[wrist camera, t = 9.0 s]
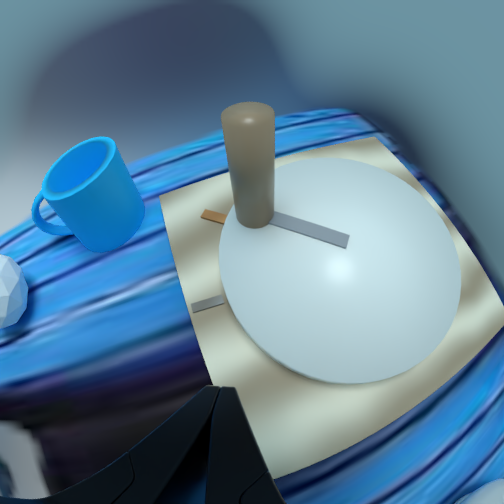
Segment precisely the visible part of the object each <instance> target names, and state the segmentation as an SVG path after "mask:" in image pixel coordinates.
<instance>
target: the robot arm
mask: <svg viewBox="0 0 504 504" xmlns="http://www.w3.org/2000/svg"><path fill="white" fill-rule="evenodd" d="M128 452H129V453H128ZM128 452H126V453H125V454H123V455H122V456H121V457H120V458H118V459H117V460H115V461H114V462H113V463H111V464H110V465H108V466H107V467H105V468H104V469H102V470H101V471H99V472H97V473H96V474H94V475H92V476H90V477H89V478H87V479H85V480H83V481H81V482H79V483H77V484H75V485H73V486H71V487H69V488H67V489H65V490H63V491H61V492H58V493H56V494H54V495H51V496H49V497H45V498H40V499H19V498H10V497H3V496H0V504H286V503H285V501H284V499H283V498H282V496H281V494H280V492H279V490H278V488H277V486H276V484H275V482H274V480H273V478H272V476H271V473H270V472H269V469H268V467H267V465H266V462H265V460H264V458H263V455H262V453H261V451H260V448H259V446H258V443H257V441H256V438H255V436H254V434H253V431H252V429H251V426H250V424H249V421H248V418H247V416H246V413H245V411H244V408H243V406H242V403H241V400H240V398H239V395H238V392H237V390H236V388H235V387H230V386H222V387H220V386H213V385H206V386H205V387H204V388H202V389H201V390H200V391H199V392H198V393H197V394H196V395H195V396H194V397H192V398H191V399H190V400H189V401H188V402H187V403H186V404H184V405H183V406H182V407H181V408H180V409H179V410H178V411H176V412H175V413H174V414H173V415H172V416H171V417H169V418H168V419H167V420H166V421H165V422H163V423H162V424H161V425H160V426H159V427H157V428H156V429H155V430H154V431H153V432H151V433H150V434H149V435H148V436H146V437H145V438H144V439H143V440H141V441H140V442H139V443H138V444H136V445H135V446H134V447H133V448H131V449H130V450H129V451H128Z"/></svg>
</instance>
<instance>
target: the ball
mask: <svg viewBox="0 0 504 504" xmlns="http://www.w3.org/2000/svg"><path fill="white" fill-rule="evenodd" d="M27 296H28V286H27V283H26V280H25V278H24V275H23V272H22V269H21V267H20V266H19V265H18V264H17V263H16V262H15V261H14V260H13V259H12V258H11V257H8V256H4V255H1V254H0V328H5V327H8V326H10V325H13V324H15V323H17V321H18V320H19V318H20V317H21V315H22V314H23V312H24V311H25V310H26V308H27Z"/></svg>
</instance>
